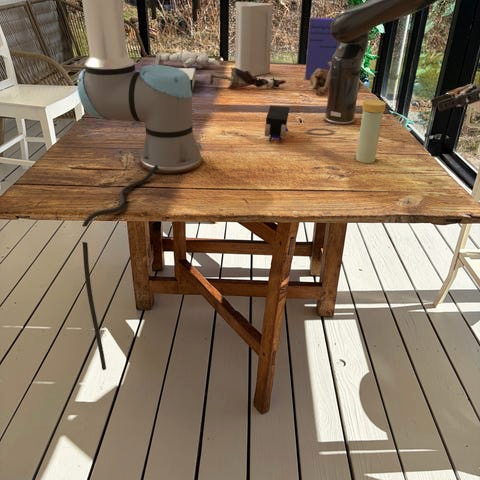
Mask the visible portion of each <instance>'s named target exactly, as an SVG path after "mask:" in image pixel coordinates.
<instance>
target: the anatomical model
mask: <svg viewBox="0 0 480 480" xmlns="http://www.w3.org/2000/svg"><path fill="white" fill-rule="evenodd" d="M327 64H328V66H330V70H324V69H320V68H318V69H316V70H315V72H314V73H313V74H312V76H311V78H310V79H309V82H310V85H311V86H312V90H314V91H315V95H316V96H318V95H319V96H322V94H325V92H328V90H329V81H330V71H331V61H330V62H328V63H327Z"/></svg>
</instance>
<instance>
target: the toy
mask: <svg viewBox="0 0 480 480" xmlns="http://www.w3.org/2000/svg"><path fill="white" fill-rule="evenodd" d="M155 55H156V56H155V65H156V66H158V65H164V62H166V63H167V62H172V63H178V62H179V63H182V65H183V67H184V68H188V67H189V66H190V67H192V66H193V65H195V66H196V68H198V69H203V67H204V66H207V65H209V64H214V65H215V67H216V66H217V67H218V68H219V67H220V66H221V63H220V62H219V60H216V59H215V58H209V56H208V55H207V54H204V53H203V52H202V51H199V52H198V53H195V52H192V51H189V50H186V51H179V52H174V53H171V52H162V51H159V52H157V53H156V54H155Z"/></svg>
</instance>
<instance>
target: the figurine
mask: <svg viewBox="0 0 480 480" xmlns="http://www.w3.org/2000/svg"><path fill="white" fill-rule="evenodd" d="M230 69H231V72H230V73H231V74H230V76H229V75H225V74H213V73H211V74H210V78H209V85H212V84H213V83H214V79H215V78H216V79H223V80H227V81H229V84H228V88H229V89H241V88H247V87H249V86H255V87H256V88H262V87H268V88H271V89H273V88H280V86H281V85H284V84H286V83H287V80H285V79H275V78H274V77H272V78H265V77H262V78H261V77H257V76H252V75H251V73H250V72H249V71H245V72H244V71H242V70H240V69H237V68H235V67H232V66H231V67H230Z"/></svg>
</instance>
